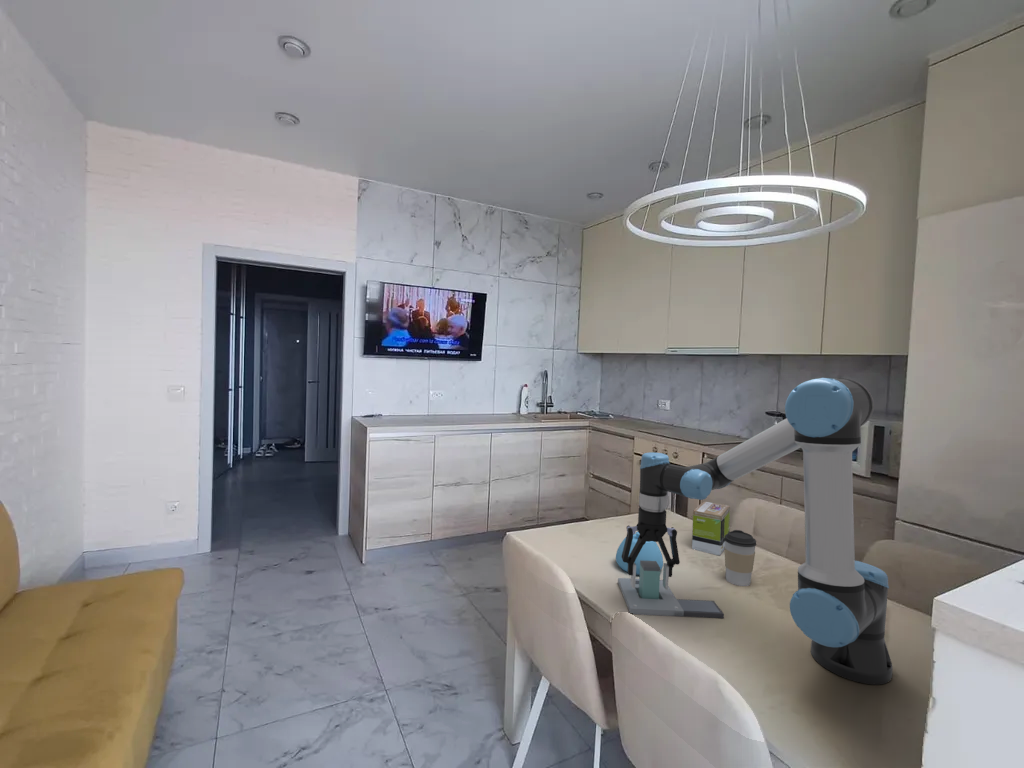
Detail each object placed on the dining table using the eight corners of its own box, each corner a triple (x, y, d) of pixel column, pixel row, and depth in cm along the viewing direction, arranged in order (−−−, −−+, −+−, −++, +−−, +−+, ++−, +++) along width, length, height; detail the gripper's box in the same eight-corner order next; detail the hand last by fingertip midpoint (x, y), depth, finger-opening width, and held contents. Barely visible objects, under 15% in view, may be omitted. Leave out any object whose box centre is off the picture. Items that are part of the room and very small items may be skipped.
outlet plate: (683, 616, 127) (683, 610, 127) (630, 613, 128) (630, 608, 128) (664, 584, 145) (664, 579, 145) (617, 582, 146) (618, 577, 146)
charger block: (658, 602, 134) (660, 567, 134) (642, 602, 134) (643, 567, 134) (654, 594, 139) (656, 561, 138) (638, 594, 139) (640, 560, 138)
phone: (723, 618, 127) (723, 613, 127) (674, 615, 127) (674, 611, 127) (713, 604, 134) (713, 600, 134) (666, 602, 134) (666, 598, 134)
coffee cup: (758, 589, 144) (760, 540, 143) (725, 585, 146) (728, 537, 145) (749, 576, 153) (752, 530, 152) (719, 573, 155) (721, 527, 154)
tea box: (701, 537, 186) (703, 500, 186) (729, 544, 180) (731, 505, 180) (690, 549, 174) (692, 509, 173) (720, 556, 168) (722, 515, 168)
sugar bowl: (645, 582, 147) (647, 545, 146) (606, 565, 158) (607, 531, 158) (671, 569, 157) (673, 534, 156) (632, 554, 168) (634, 521, 167)
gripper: (686, 505, 139) (682, 582, 140) (612, 502, 139) (609, 579, 140) (695, 513, 131) (691, 594, 132) (617, 510, 132) (613, 591, 133)
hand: (649, 586), depth 136 cm, fingers open, 8 cm apart
